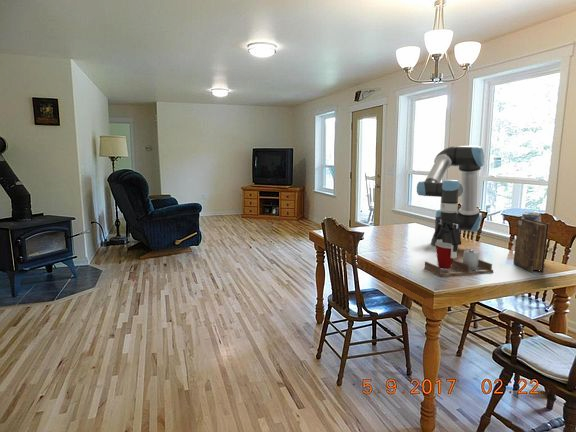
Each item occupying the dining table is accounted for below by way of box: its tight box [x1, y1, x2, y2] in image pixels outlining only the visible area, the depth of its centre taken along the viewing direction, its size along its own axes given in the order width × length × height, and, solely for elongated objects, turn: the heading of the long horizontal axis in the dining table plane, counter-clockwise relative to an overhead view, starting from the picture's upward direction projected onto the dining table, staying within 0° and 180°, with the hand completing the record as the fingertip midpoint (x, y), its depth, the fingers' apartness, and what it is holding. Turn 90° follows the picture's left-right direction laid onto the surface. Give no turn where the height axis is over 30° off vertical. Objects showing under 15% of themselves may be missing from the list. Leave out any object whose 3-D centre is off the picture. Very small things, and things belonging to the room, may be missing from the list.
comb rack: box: [424, 258, 494, 278], centre depth 189 cm, size 30×13×4 cm, turn 103°
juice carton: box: [520, 210, 542, 222], centre depth 208 cm, size 9×10×27 cm
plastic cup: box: [434, 242, 454, 270], centre depth 188 cm, size 11×11×12 cm
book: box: [513, 218, 550, 273], centre depth 191 cm, size 17×7×25 cm, turn 177°
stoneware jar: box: [462, 248, 480, 271], centre depth 191 cm, size 7×7×10 cm
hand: (445, 254), depth 188 cm, fingers closed on plastic cup, 11 cm apart
